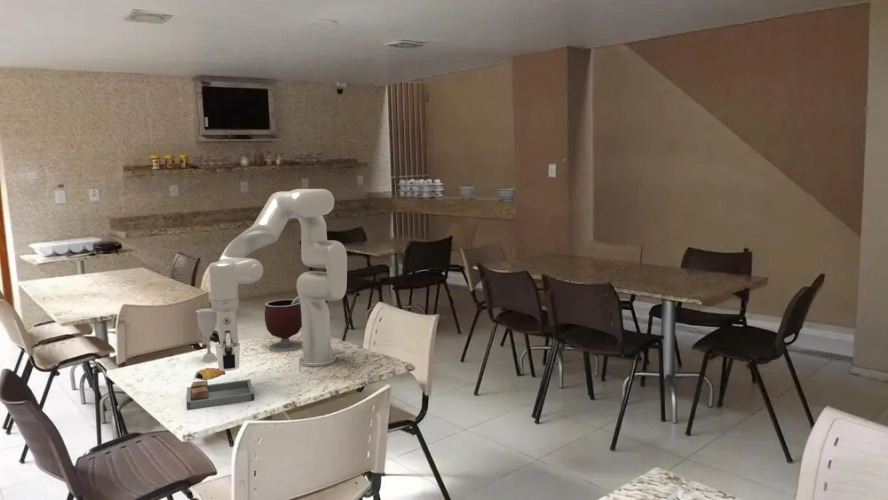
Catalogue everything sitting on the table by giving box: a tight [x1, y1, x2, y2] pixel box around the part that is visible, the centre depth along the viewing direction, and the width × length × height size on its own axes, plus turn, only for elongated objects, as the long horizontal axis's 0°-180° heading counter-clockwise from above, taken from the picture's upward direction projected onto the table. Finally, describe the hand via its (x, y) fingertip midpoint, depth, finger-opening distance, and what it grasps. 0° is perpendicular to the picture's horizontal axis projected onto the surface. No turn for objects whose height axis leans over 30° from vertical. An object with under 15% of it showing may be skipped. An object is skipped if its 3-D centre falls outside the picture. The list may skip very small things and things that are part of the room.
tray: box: [186, 379, 255, 411], centre depth 190 cm, size 18×14×3 cm
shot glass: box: [214, 342, 241, 372], centre depth 189 cm, size 7×7×7 cm
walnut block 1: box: [190, 380, 209, 389], centre depth 191 cm, size 4×4×4 cm
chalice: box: [195, 308, 218, 363], centre depth 230 cm, size 7×7×18 cm
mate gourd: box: [264, 296, 303, 353], centre depth 245 cm, size 16×14×20 cm
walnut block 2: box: [191, 387, 209, 401], centre depth 185 cm, size 4×4×4 cm
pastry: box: [194, 367, 226, 381], centre depth 211 cm, size 9×7×4 cm
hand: (228, 364), depth 190 cm, fingers closed on shot glass, 6 cm apart
